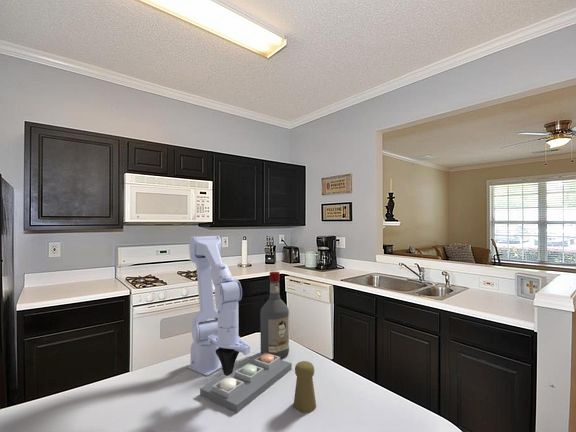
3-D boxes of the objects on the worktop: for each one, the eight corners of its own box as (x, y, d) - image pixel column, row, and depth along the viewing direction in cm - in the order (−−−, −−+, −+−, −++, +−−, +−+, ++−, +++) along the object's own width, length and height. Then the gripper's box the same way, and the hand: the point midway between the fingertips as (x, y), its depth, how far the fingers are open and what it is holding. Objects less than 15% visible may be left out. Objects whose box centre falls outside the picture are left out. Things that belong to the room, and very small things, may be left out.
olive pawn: (315, 414, 74) (314, 370, 74) (291, 411, 75) (291, 368, 75) (317, 399, 80) (317, 359, 80) (295, 397, 81) (295, 357, 81)
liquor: (257, 353, 108) (257, 272, 109) (278, 346, 114) (277, 269, 114) (271, 362, 101) (271, 275, 101) (292, 355, 106) (291, 272, 107)
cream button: (216, 390, 81) (216, 383, 81) (228, 382, 85) (228, 376, 85) (228, 395, 79) (228, 388, 79) (239, 387, 82) (239, 380, 82)
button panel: (200, 395, 82) (200, 383, 82) (258, 358, 104) (258, 349, 104) (237, 413, 74) (237, 399, 74) (291, 369, 96) (291, 358, 96)
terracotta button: (257, 363, 96) (257, 357, 96) (265, 358, 100) (265, 352, 100) (268, 366, 94) (268, 361, 94) (276, 361, 97) (276, 355, 97)
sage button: (239, 375, 88) (239, 369, 88) (248, 369, 92) (248, 363, 92) (250, 379, 86) (250, 373, 86) (259, 373, 90) (259, 367, 90)
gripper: (257, 325, 81) (257, 374, 81) (220, 316, 89) (220, 361, 89) (240, 333, 75) (240, 387, 75) (202, 323, 83) (202, 371, 83)
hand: (228, 373), depth 82 cm, fingers closed
